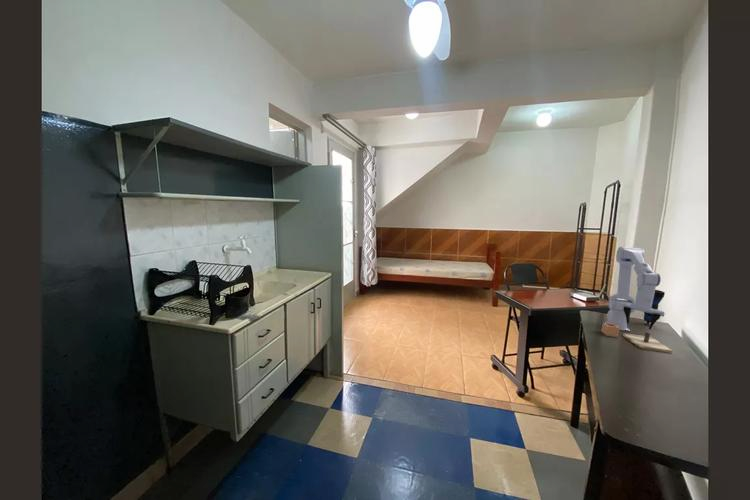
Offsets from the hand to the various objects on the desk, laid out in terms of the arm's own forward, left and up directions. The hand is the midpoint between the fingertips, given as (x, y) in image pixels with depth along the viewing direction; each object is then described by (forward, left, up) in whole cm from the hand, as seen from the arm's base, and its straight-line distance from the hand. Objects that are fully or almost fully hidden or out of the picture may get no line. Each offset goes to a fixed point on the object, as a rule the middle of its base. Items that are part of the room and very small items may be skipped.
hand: (638, 325), depth 130 cm
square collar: (-10, -6, -10) cm, 15 cm away
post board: (-4, +6, -10) cm, 12 cm away
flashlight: (-34, +23, -10) cm, 42 cm away
